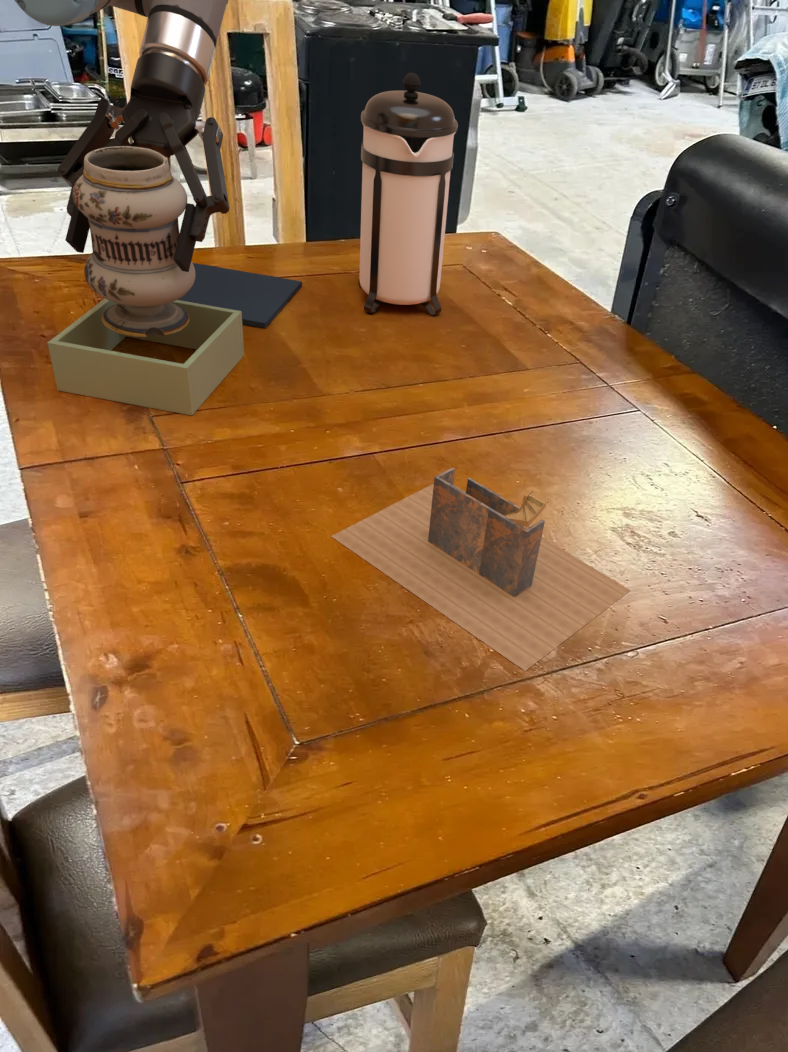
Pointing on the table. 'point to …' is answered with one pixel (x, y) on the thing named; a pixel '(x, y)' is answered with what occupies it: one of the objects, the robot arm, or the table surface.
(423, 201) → the coffee press
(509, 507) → the architectural model on board
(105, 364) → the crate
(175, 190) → the apothecary jar
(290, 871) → the table surface
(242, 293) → the mat
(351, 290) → the table surface
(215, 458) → the table surface
